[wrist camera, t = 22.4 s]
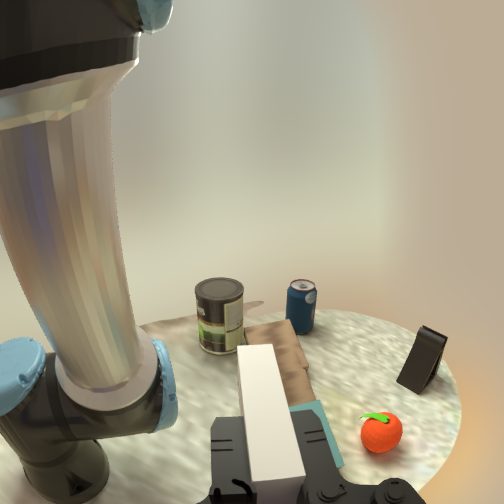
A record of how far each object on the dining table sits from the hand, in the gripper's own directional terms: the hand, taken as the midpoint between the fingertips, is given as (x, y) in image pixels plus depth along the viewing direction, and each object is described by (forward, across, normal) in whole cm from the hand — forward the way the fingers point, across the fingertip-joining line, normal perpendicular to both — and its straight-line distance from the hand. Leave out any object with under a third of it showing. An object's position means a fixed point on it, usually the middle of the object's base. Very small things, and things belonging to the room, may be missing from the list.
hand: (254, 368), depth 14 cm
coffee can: (+49, -2, -35) cm, 61 cm away
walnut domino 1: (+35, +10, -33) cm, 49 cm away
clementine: (+16, +22, -35) cm, 44 cm away
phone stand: (+29, +38, -35) cm, 60 cm away
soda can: (+53, +17, -35) cm, 66 cm away
